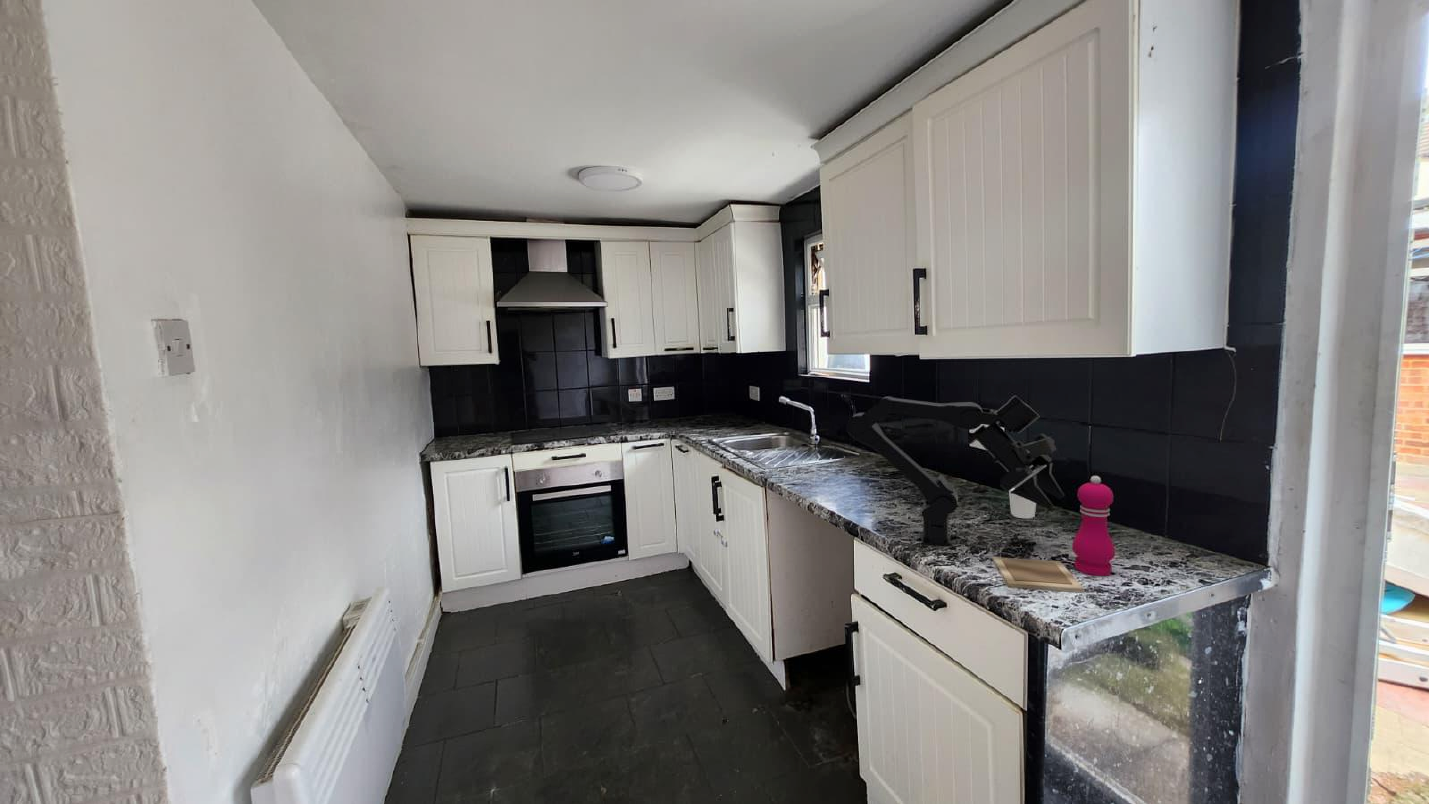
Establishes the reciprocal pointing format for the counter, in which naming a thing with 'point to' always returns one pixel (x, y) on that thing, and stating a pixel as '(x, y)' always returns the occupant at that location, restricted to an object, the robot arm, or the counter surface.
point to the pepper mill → (1094, 530)
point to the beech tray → (1037, 574)
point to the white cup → (1021, 506)
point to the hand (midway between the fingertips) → (1057, 502)
